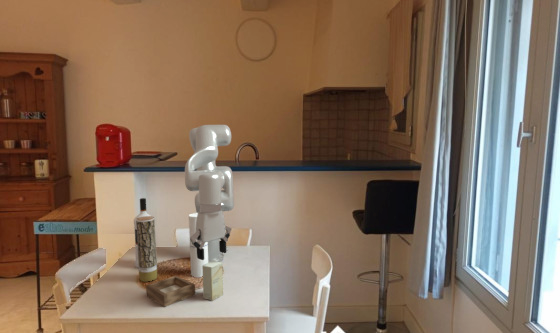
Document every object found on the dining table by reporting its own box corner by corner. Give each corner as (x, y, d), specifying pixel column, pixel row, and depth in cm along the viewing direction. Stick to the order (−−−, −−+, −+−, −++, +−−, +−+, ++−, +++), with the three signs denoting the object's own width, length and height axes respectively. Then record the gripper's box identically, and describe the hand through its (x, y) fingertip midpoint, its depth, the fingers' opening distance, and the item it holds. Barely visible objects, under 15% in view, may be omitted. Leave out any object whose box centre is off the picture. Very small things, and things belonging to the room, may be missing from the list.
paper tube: (151, 283, 155) (148, 220, 152) (136, 282, 156) (132, 220, 153) (160, 276, 162) (157, 216, 159) (145, 275, 163) (142, 215, 160)
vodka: (149, 270, 169) (145, 200, 165) (130, 268, 171) (126, 200, 168) (161, 262, 178) (158, 196, 174) (143, 260, 180) (139, 195, 176)
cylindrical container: (193, 278, 159) (191, 217, 156) (189, 272, 165) (186, 214, 162) (210, 275, 162) (208, 215, 159) (205, 269, 169) (203, 212, 166)
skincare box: (212, 301, 139) (211, 267, 138) (202, 298, 141) (201, 265, 140) (223, 294, 144) (222, 262, 143) (214, 291, 147) (213, 260, 145)
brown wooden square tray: (176, 285, 153) (176, 275, 152) (195, 294, 144) (194, 284, 144) (146, 296, 144) (146, 285, 143) (164, 306, 135) (164, 295, 135)
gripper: (223, 203, 148) (224, 247, 149) (183, 210, 135) (185, 259, 137) (236, 205, 143) (237, 252, 144) (196, 213, 130) (198, 264, 132)
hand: (212, 255), depth 141 cm, fingers open, 9 cm apart
